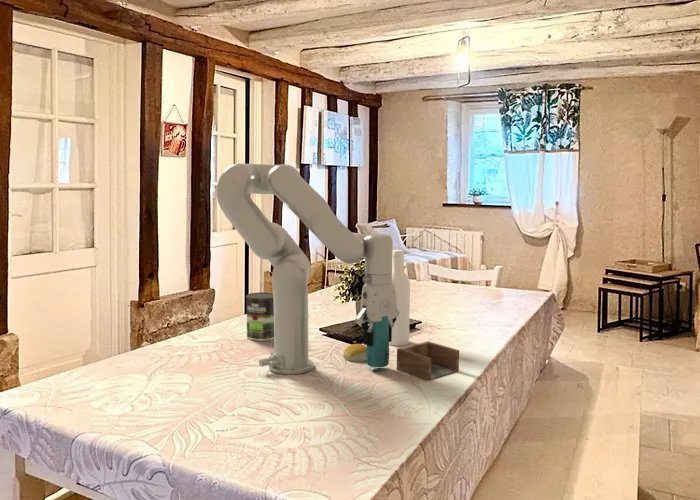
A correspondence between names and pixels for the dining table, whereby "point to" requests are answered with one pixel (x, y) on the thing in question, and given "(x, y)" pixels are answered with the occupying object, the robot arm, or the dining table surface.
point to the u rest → (427, 360)
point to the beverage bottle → (379, 344)
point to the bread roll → (355, 353)
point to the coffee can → (260, 316)
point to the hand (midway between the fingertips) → (377, 342)
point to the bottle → (400, 300)
